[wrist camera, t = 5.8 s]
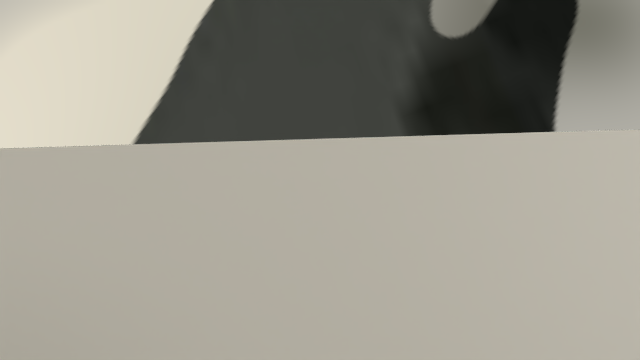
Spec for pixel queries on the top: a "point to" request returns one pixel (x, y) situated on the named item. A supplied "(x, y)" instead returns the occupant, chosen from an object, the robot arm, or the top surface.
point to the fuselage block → (324, 249)
